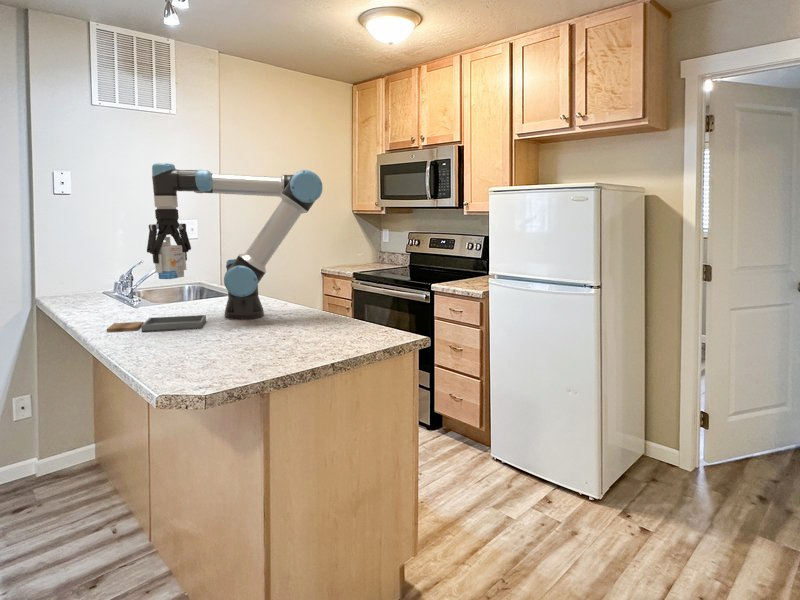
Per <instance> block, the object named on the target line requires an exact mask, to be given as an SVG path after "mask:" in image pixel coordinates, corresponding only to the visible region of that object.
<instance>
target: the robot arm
mask: <svg viewBox="0 0 800 600" xmlns="http://www.w3.org/2000/svg"><path fill="white" fill-rule="evenodd" d="M175 166H176V165H175V164H174V163H165V162H156V163H153V164H152V166H151V179H152V190H153V199H154V200H153V201H154V207H155V208H156V209H155V210H154V213H155V214H154V215H155V220H156V223H155V224H152V223H151V224H148V229H149V231H148V238H147V246H146V252H147V254H151V255H152V261H153V264H154V265H155V267H154V268H155V273H163V271H162V258H161V254H159V252H160V249H161V246H162V244H163V242H165V240H164V238H165V237H167V236H169V235H170V236H171V237H172V238H173V240H174V242H175V245H182V252H183V267H184V271H186V270H187V263H186V262H187V260H188V257H187V253H188V252H189V251H191V250H192V246H191V242H190V240H189V235H188V232H187V224H186V223H180V222H179V217H180V216H179V210H178V205H179V204H178V203H179V202H178V193H177V192H193V193H196V194H218V195H219V194H221V195H222V194H223V195H238V196H239V195H241V196H242V195H243V196H257V197H258V196H261V197H263V196H264V197H278V198H280V199H281V201H280V203H279V204H278V206H277V207H276V208H275V210H274V211H273V212H272V214H271V215H270V217H269V218H268V220H267V221H266V222H265V224H264V225H263V227H262V228H261V230H260V231H259V233H258V234H257V236H256V237H255V238H254V240H253V242H252V243H251V244H250V246H249V248H248V249H247V250H246V251H245V252H244V253H240V254H238V255H237V257H236V258H233V259H228V260H226V265H225V268H226V272H225V274H224V277H223V285H224V287H225V289H226V290H227V295H228V296H227V297H228V298H227V302H226V305H225V309H224V318H225V319H227V320H234V321H235V320H236V321H237V320H238V321H239V320H242V321H243V320H252V319H258V318H262V317H263V316H264V312H265V311H264V307H263V304H262V303H261V299H260V297H259V296H260V295H259V283H260V281H261V280H262V278H263V277H264V275H265V274H266V273H267V270H266V266H267V264H268V263H269V262H270V260H271V258H272V257H273V255H274V254H275V252H277V250H278V248H279V246H280V245H281V244H282V243H283V241H284V240H285V238H286V236H288V234H289V233H290V231H291V230H292V228H293V227H294V225H295V224H296V222H297V221H298V220H299V218H300V217H301V215H303V214H306V213H308V212H309V210H311V209H312V206H313V205H314V203H315V202H317V200H319V198H320V197H321V196H322V194H323V189H324V188H323V187H324V186H323V182H322V180H321V178H320V176H319V175H318V174H317V173H316V172H314V171H312V170H308V169H303V170H302V169H301V170H298V171H297V172H296V173H294V174H282V175H281V176H266V175H263V176H262V175H249V174H228V173H212V172H211V171H210V170H205V169H176V167H175ZM156 238H157V240H156Z"/></svg>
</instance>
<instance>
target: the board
mask: <svg viewBox="0 0 800 600" xmlns="http://www.w3.org/2000/svg"><path fill="white" fill-rule="evenodd" d="M144 322H145V321H135V322H134V321H131V322H114V323H113V324H111V325H110V326H108V327H107V328H106V333H116V332H117V333H118V332H119V333H120V332H136V331H139V330H140V329H141V325H142V324H143V323H144Z"/></svg>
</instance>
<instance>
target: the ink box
mask: <svg viewBox="0 0 800 600" xmlns="http://www.w3.org/2000/svg"><path fill="white" fill-rule="evenodd" d="M156 240H157V237H156ZM159 254H161V258H162V271H163V273H158V274H157V275H158V279H159V280H173V279H179V278H184V277H185V270H184V267H183V252H182V245H177V244H175V245H174V244H172V243H171V237H170V236H166V237H165V238H164V241H163V244H162V246H161V249H160V252H159Z"/></svg>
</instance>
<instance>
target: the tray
mask: <svg viewBox="0 0 800 600" xmlns="http://www.w3.org/2000/svg"><path fill="white" fill-rule="evenodd" d="M143 322H144V323H143V324H142V325H141V328H140V329H141V333H150V332H151V333H153V332H154V333H155V332H171V331H172V332H173V331H174V332H175V331H190V330H191V331H192V330H203V328H204V326H205V324H206V323H207V315H206V314H200V315H199V314H198V315H183V316H181V315H178V316H158V317H156V316H155V317H148V319H146V320H145V321H143Z"/></svg>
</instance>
